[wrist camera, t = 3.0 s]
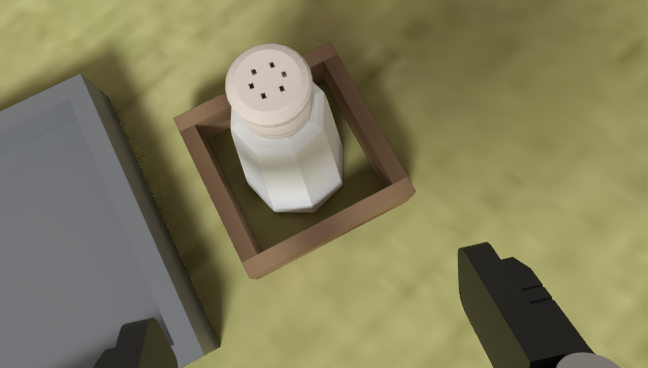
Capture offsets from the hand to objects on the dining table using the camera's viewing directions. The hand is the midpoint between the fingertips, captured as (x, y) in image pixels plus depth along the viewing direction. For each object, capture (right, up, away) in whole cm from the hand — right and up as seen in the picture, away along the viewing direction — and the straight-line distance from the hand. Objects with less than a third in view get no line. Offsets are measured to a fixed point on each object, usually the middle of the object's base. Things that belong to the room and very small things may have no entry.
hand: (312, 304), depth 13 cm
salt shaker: (-1, +4, +14) cm, 14 cm away
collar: (-1, +4, +13) cm, 14 cm away
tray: (-15, -2, +12) cm, 19 cm away
